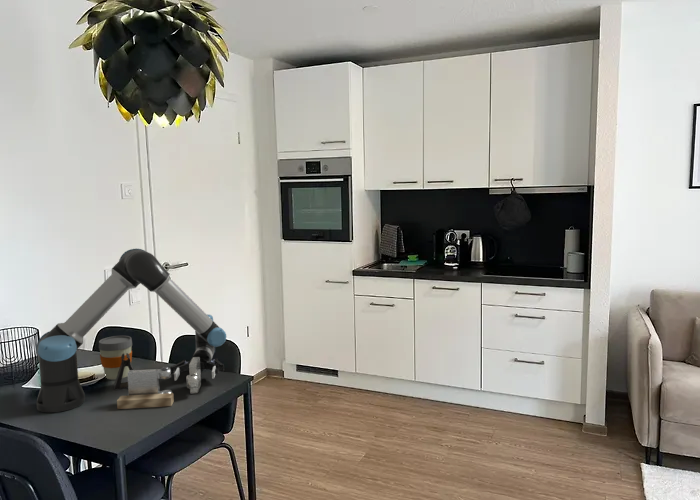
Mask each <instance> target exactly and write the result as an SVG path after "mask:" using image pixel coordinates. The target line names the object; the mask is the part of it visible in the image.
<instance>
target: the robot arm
mask: <svg viewBox="0 0 700 500" xmlns="http://www.w3.org/2000/svg"><path fill="white" fill-rule="evenodd" d="M110 274H111V275H110V276H108V278H107V279H106V280H105V281H103V283H102V284H101V285H100V286H99V287H98V288H97V289H96V290H94V292H93V293H92V294H91V295H90V296H89V297H88V298H87V299H86V300H85V301H84V302H83V303H82V304H81V305H80V306H79V307H78V308H77V309H76V310H75V311H74V312H73V313H72V315H70V316H69V318H68V319H66V321H64V322H59V323H57V324H55V326H54V327H52V329H51V330H49V331H47V332H45V333H44V334H43V335H41V336H40V338H39V339H38V341H37V343H36V345H35V353H36V356H37V359H38V364H39V365H38V366H39V377H40V378H39V379H40V388H39V392H38V395H37V399H36V403H35V404H36V410H37V411H38V412H42V413H59V412H65V411H70V410H73V409H74V408H75V409H76V408H78V407H79V406H81V405H84V403H85V401H86V394H85V392H84V390H83V387H82V384H81V382H80V380H79V369H78V357H77V356H78V355H77V351H78V349H79V348H80V347H81V346H82V345H83V344H84V337H85V336H86V335H87V334H88V333H89V332H90V331H91V330H92V329H93V328H94V327H95V325H96V324H97V323H99V321H100V320H101V319H102V318H103V317H104V316H105V315H106V314H107V313H108V312H109V311H110V310H111V309H112V307H114V306H115V304H116V303H117V302H118V301H119V300H120V299H121V298H122V297H123V296H124V295H125V294H126V293H127V292H128V291H129V290H131V289H132V290H133V289H136V288H137V287H138V286H139V285H140V284H141V285H142V286H143V287H145V288H146V289H147V290H148V291H149V292H153V293H155V294H157V296H159V298H161V299H162V301H164V302H165V303H166V304H167V305H168V306H169V307H170V308H171V309H172V310H173V311H174V312H175V313H176V314H177V315H178V316H179V317H180V318H181V319H183V320H184V322H186V323H187V324H188V325H189V327H191V328H192V329H193V330H194V331H195V336H194V337H195V351H194V353H193V354H192V357H191V359H190V360H189V361H186V360H187V359H182V361H179V362H178V363H176V364H174V365H172V366H170V367H169V368H170V369H171V375H173V378H174V382H175V381H177V380H178V379H179V377H180V375H181V373H184V372H187V371H189V364H190V362H191V360H192V358H193V357H200V371H203V370H210V371H211V379H215V376H216V375H217V374H219V373H220V372H224V371H225V365H224V363H223V362H221V361H219V360H218V359H219V358H217V357H216V358H214V359H213V357H214V355H215V353H216V348H217V347H221V346H222V345H223V344H225V342H226V341H227V333H226V331H225V330H224V329H223V328H221V327H220V326H219V325H218V324H217V323H216V322H215V321H214V317H213V315H212V314H207V313H206V312H205V311H204V310H203V309H202V308H201V307H200V306H199V305H198V304H197V303H196V302H195V301H194V300H193V299H192V298H190V297H189V295H187V293H186V292H184V290H183V289H182V288H181V287H179V285H178V284H176V283H175V281H173V279H171V278H170V277H171V276H170V273H169V272H168V271H167V269H165V267H164V266H163V265H162V263H160V261H159V260H158V259H157V257H156V256H154V254H152V253H151V252H148V251H146V250H144V249H143V248H131V249H128V250H126V251H124V253H122V255H121V256H120V258H119V259H118V261H117V263H115V264H114V265H113V267H112V268H111V273H110Z"/></svg>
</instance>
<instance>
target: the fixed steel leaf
mask: <svg viewBox="0 0 700 500" xmlns="http://www.w3.org/2000/svg"><path fill="white" fill-rule="evenodd" d="M171 378H172V374H171V369H170V367H169V366H162V367H161V368H155V369H154V368H153V369H134V370H129V372H128V376H127V382H128V387H127V389H128V390H127V391H128V396H129V395H147V394H165V393H173V390H171V389H164V390H160V380H167V379H171Z"/></svg>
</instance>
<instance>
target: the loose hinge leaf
mask: <svg viewBox="0 0 700 500" xmlns="http://www.w3.org/2000/svg"><path fill="white" fill-rule="evenodd" d="M192 357H193V356H192ZM192 357H191V359H192V360H191V359H190V360H191V362H190V364H189V370H188V371H189V374H187V375H186V389H188V390H189V392H190V395H191V394H198V393H199V391H200V388H201V386H202V377H201V376H202V374H201V371H202V370H200V357H193V358H192Z"/></svg>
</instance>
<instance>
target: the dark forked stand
mask: <svg viewBox="0 0 700 500" xmlns="http://www.w3.org/2000/svg"><path fill="white" fill-rule="evenodd" d="M126 355H127V358H128V359H127V360H123V359H124V358H125V356H124V354H122V356H121V359H122V362H121V365H120V368H119V371H118V374H117V377H116V379H114V390H122V389H128V381H123V380H122V379H123V378H122V376H123V371H124V367H125V366H128V368H129V370H135V368H134V367H133V365H132V361H131V362H130V355H129V354H128V353H126ZM122 381H123V382H122Z"/></svg>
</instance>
